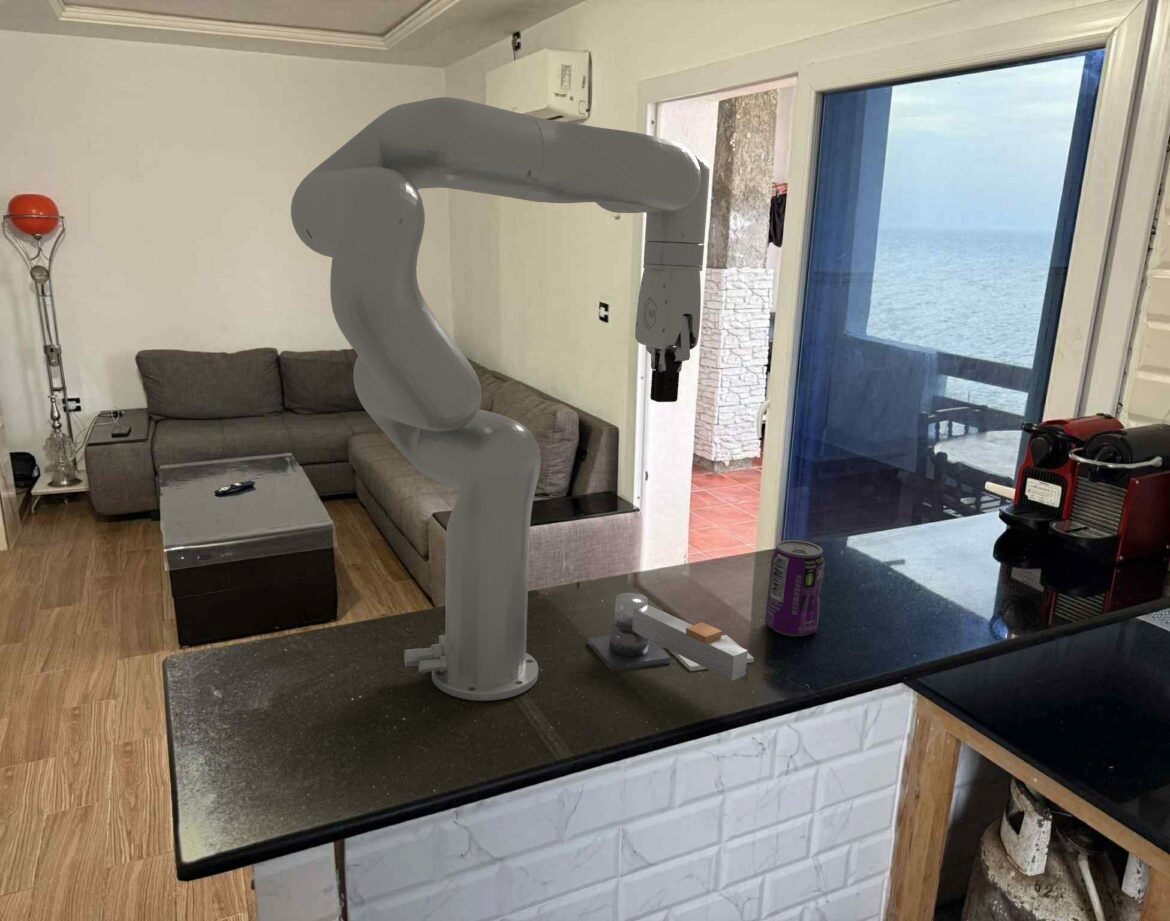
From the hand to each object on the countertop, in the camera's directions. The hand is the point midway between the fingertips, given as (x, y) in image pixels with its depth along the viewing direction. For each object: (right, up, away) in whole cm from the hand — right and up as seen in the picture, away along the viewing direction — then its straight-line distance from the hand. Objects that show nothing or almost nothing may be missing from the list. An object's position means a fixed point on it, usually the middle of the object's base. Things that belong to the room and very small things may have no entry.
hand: (663, 400), depth 114 cm
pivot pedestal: (-5, -33, -3) cm, 33 cm away
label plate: (+6, -33, -3) cm, 33 cm away
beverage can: (+18, -32, +6) cm, 37 cm away
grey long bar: (0, -30, -10) cm, 32 cm away
